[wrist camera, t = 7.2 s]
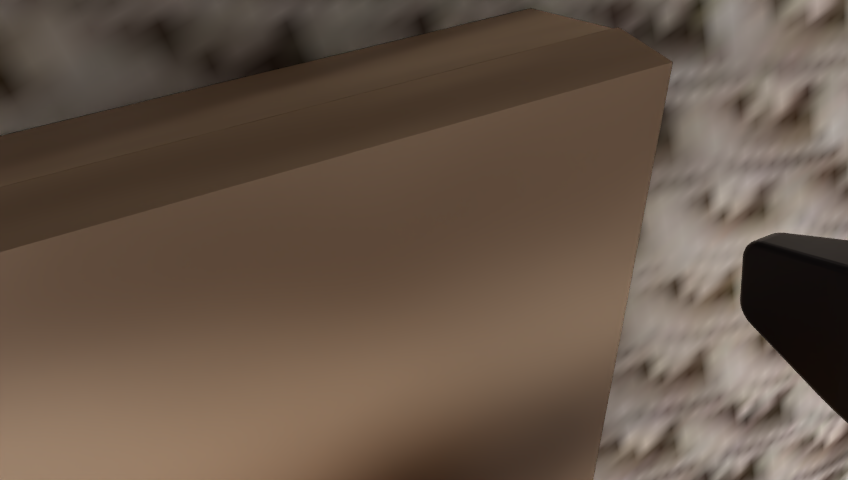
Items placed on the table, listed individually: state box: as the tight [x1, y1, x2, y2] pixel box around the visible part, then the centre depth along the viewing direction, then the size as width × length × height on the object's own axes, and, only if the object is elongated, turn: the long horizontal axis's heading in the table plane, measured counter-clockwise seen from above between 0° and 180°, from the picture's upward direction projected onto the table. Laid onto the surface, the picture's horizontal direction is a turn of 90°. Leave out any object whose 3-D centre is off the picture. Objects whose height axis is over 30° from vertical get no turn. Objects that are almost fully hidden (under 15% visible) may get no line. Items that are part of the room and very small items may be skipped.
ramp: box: [0, 8, 673, 480], centre depth 14 cm, size 14×10×5 cm
